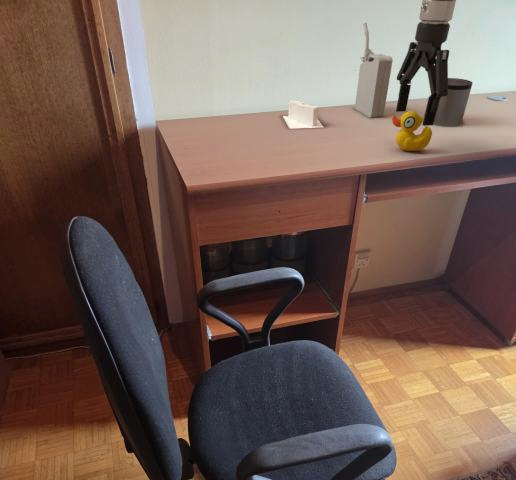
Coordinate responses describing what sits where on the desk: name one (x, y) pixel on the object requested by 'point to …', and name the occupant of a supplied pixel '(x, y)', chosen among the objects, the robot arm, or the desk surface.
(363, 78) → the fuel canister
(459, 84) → the jar
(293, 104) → the napkin holder
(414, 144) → the duckling
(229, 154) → the desk surface
